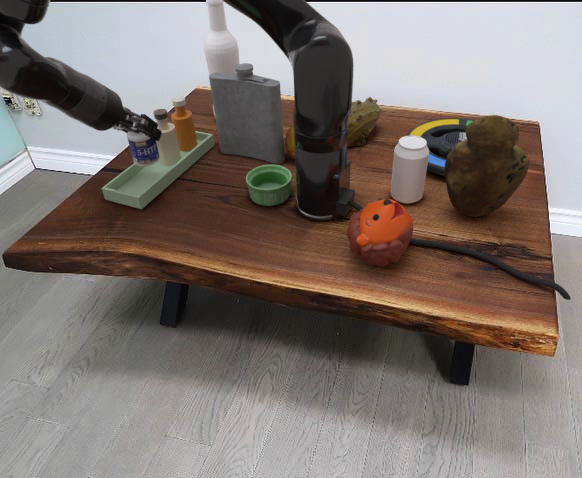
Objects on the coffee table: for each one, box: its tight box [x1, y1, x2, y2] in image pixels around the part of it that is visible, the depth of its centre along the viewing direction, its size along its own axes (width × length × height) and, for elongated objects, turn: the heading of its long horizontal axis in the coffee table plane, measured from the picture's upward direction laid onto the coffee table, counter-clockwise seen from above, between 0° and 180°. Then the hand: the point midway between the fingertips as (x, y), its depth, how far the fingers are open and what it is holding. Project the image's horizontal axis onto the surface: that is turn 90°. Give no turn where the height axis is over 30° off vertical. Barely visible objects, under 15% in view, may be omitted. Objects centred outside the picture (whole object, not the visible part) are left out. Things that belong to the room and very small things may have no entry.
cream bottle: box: [152, 108, 182, 166], centre depth 107 cm, size 5×5×12 cm
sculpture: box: [444, 114, 530, 218], centre depth 86 cm, size 13×8×20 cm, turn 70°
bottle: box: [203, 0, 240, 117], centre depth 118 cm, size 8×8×30 cm
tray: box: [101, 130, 216, 210], centre depth 109 cm, size 9×27×3 cm, turn 155°
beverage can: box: [389, 135, 430, 205], centre depth 94 cm, size 6×6×12 cm
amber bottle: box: [170, 95, 198, 152], centre depth 112 cm, size 5×5×12 cm
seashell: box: [347, 96, 383, 148], centre depth 115 cm, size 11×14×10 cm
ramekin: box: [245, 164, 293, 207], centre depth 99 cm, size 9×9×4 cm
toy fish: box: [346, 198, 415, 267], centre depth 82 cm, size 12×10×11 cm
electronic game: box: [405, 117, 517, 177], centre depth 107 cm, size 23×23×5 cm
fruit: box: [284, 124, 295, 160], centre depth 108 cm, size 10×9×8 cm
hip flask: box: [208, 62, 286, 165], centre depth 107 cm, size 16×4×20 cm, turn 66°
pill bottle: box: [126, 123, 160, 166], centre depth 101 cm, size 5×5×9 cm
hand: (147, 133), depth 101 cm, fingers closed on pill bottle, 5 cm apart
